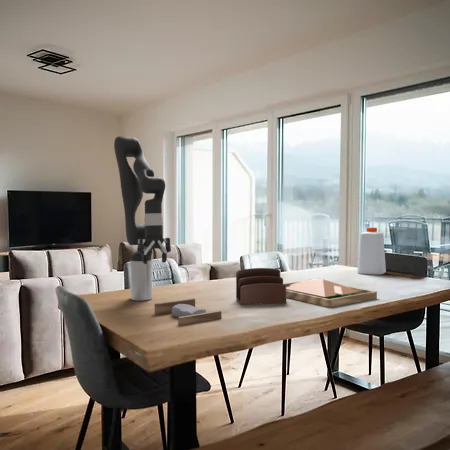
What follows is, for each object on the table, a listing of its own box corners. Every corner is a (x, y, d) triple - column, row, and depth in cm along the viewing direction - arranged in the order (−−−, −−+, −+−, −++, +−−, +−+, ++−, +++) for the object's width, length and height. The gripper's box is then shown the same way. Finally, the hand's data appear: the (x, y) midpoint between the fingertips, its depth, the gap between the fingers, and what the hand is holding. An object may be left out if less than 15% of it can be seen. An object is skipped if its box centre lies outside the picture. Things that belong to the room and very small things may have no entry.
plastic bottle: (381, 275, 261) (381, 228, 260) (355, 273, 269) (355, 227, 268) (387, 272, 274) (387, 227, 273) (362, 270, 282) (362, 227, 281)
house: (330, 305, 183) (330, 286, 182) (275, 293, 209) (275, 276, 209) (365, 299, 196) (365, 280, 196) (309, 288, 223) (309, 272, 222)
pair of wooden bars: (154, 314, 168) (154, 303, 168) (193, 308, 177) (193, 298, 177) (180, 325, 151) (180, 313, 151) (221, 318, 161) (221, 307, 161)
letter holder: (236, 300, 193) (235, 268, 193) (280, 298, 196) (279, 267, 196) (240, 305, 183) (240, 271, 183) (286, 303, 186) (286, 270, 186)
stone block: (189, 316, 172) (168, 315, 166) (191, 303, 173) (171, 302, 166) (209, 322, 164) (189, 322, 157) (211, 309, 164) (191, 308, 157)
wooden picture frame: (265, 292, 210) (265, 286, 210) (310, 285, 228) (310, 280, 228) (329, 307, 177) (329, 299, 177) (376, 298, 195) (376, 291, 195)
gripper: (164, 224, 193) (165, 261, 193) (134, 225, 184) (135, 263, 185) (173, 224, 186) (174, 262, 186) (141, 224, 178) (142, 265, 178)
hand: (154, 263), depth 186 cm, fingers open, 8 cm apart
